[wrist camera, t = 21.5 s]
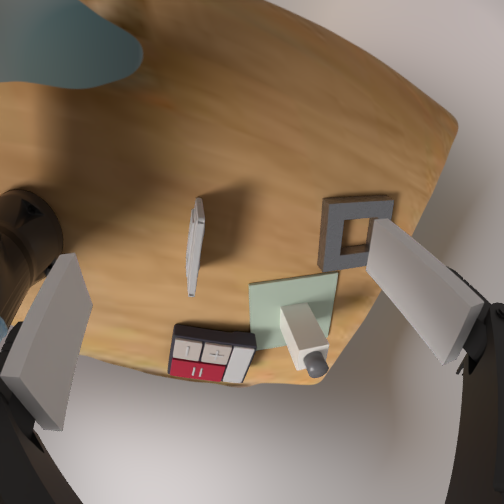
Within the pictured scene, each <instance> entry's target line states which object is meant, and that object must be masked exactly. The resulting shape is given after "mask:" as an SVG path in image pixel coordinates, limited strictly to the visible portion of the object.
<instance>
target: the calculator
mask: <svg viewBox="0 0 504 504" xmlns="http://www.w3.org/2000/svg"><path fill="white" fill-rule="evenodd" d="M256 350H257V343H256V337H255V334H253V333H246V332H238V331H235V332H232V333H230V332H223V331H216V330H209V329H203V328H196V327H190V326H184V325H178V324H176V325H174V330H173V336H172V343H171V349H170V356H169V363H168V374H170V375H173V376H179V377H186V378H193V379H201V380H209V381H217V382H220V381H224V382H233V383H242V382H243V381H244V378H245V376H246V374H247V371H248V369H249V367H250V364H251V362H252V359H253V357H254V354H255V352H256Z"/></svg>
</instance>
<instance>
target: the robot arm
mask: <svg viewBox="0 0 504 504" xmlns="http://www.w3.org/2000/svg"><path fill="white" fill-rule="evenodd" d="M62 248H63V236H62V231H61V227H60V224H59V221H58V219H57V217H56V215H55V214H54V212H53V211H52V209H51V208H50V207H49V205H48V204H47V203H46V202H45V201H44V200H42V199H41V198H40V197H38V196H37V195H35V194H33V193H31V192H28V191H25V190H11V191H8V192H6V193H4V194H2V195H1V196H0V342H1V341H2V339H3V338H4V337H5V336H6V334H7V332H8V329H9V327H10V325H11V323H12V321H13V319H14V317H15V315H16V313H17V311H18V309H19V307H20V305H21V303H22V301H23V299H24V297H25V295H26V294H27V292H28V290H29V288H30V287H31V286H33V285H34V284H36V283H37V282H39V281H41V280H42V279H44V278H45V277H47V278H46V279H45V281H44V283H43V285H42V287H41V288H40V290H39V292H38V294H37V296H36V298H35V300H34V302H33V303H32V305H31V307H30V309H29V311H28V313H27V315H26V317H25V319H24V321H23V322H18V323H17V324H16V325H15V326H14V327H13V329H12V330H11V331H10V333H9V334H8V336H7V338H6V341H5V344H4V345H3V347H2V349H1V352H0V504H83V503H82V502H81V500H80V499H79V498H78V496H77V495H76V493H75V492H74V491H73V490H72V488H71V486H70V485H69V484H68V482H67V481H66V479H65V478H64V476H63V475H62V473H61V472H60V470H59V469H58V467H57V466H56V464H55V463H54V461H53V460H52V458H51V456H50V455H49V453H48V451H47V450H46V448H45V446H44V444H43V443H42V441H41V439H40V437H39V436H38V434H37V433H36V432H35V431H34V429H33V427H34V423H35V421H36V422H37V423H38V424H39V425H40V426H41V427H42V428H43V429H44V430H54V431H63V425H64V420H65V414H66V408H67V404H68V399H69V393H70V389H71V385H72V380H73V376H74V372H75V368H76V363H77V359H78V355H79V352H80V348H81V344H82V340H83V337H84V333H85V330H86V326H87V323H88V320H89V316H90V313H91V310H92V306H93V304H92V301H91V299H90V296H89V293H88V290H87V288H86V285H85V282H84V279H83V276H82V273H81V270H80V267H79V263H78V260H77V257H76V254H75V253H69V254H62V255H61V253H62ZM366 271H367V272H368V274H369V275H370V276H371V277H372V278H373V279H374V281H375V282H376V283H377V284H378V285H379V286H380V288H381V289H382V290H383V291H384V292H385V293H386V295H387V296H388V297H389V298H390V299H391V301H392V302H393V303H394V304H395V306H396V307H397V308H398V309H399V310H400V312H401V313H402V314H403V315H404V317H405V318H406V319H407V320H408V321H409V323H410V324H411V325H412V326H413V328H414V329H415V330H416V331H417V333H418V334H419V335H420V337H421V338H422V339H423V340H424V342H425V343H426V344H427V346H428V347H429V348H430V349H431V351H432V352H433V353H434V355H435V356H436V357H437V359H438V360H439V361H440V363H441V364H442V365H444V364H447V363H449V362H452V361H454V360H456V359H457V357H458V356H459V354H460V352H461V350H462V348H464V349H465V351H466V352H467V354H466V356H465V357H464V359H463V361H462V363H461V364H460V366H459V368H458V370H457V372H456V374H459V373H460V371H461V369H462V368H464V370H463V374H462V375H463V392H462V405H461V416H460V425H459V434H458V441H457V447H456V454H455V459H454V466H453V470H452V475H451V480H450V485H449V489H448V493H447V497H446V501H445V504H504V304H502V303H493V304H492V305H491V304H490V303H489V302H488V301H487V300H486V299H485V298H484V297H483V296H482V295H481V294H480V293H479V292H478V291H477V290H476V289H474V288H473V287H472V286H471V285H469V283H468V282H467V281H466V280H463V277H461V276H460V275H459V274H458V273H457V272H456V271H454V270H453V269H451V268H449V267H447V266H445V265H444V264H443V263H441V262H440V261H439V260H438V259H437V258H436V257H435V256H433V255H432V254H431V253H430V252H429V251H428V250H426V249H425V248H424V247H423V246H422V245H420V244H419V243H418V242H417V241H415V240H414V239H413V238H412V237H411V236H409V235H408V234H407V233H406V232H404V231H403V230H402V229H401V228H399V227H398V226H397V225H396V224H394V223H393V222H392V221H390V220H389V219H388V218H386V219H375V220H374V226H373V232H372V238H371V244H370V250H369V256H368V261H367V267H366Z"/></svg>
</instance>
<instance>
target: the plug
mask: <svg viewBox="0 0 504 504" xmlns="http://www.w3.org/2000/svg"><path fill="white" fill-rule="evenodd" d="M280 329H281V332H282V334H283V337H284V339H285V342H286V344H287V347H288V349H289V352H290V355H291V357H292V360H293V362H294V365H295V367H296V370H302V369H307V371H308V373H309V376H310V377H312V378H318V377H321V376H323V375H324V374H326V373H327V371H328V369H329V367H328V365H327V363H326V358H327V353H328V348H329V343H328V341H327V339H326V337H325V335H324V333H323V331H322V329H321V328H320V326H319V324H318V322H317V320H316V318H315V316H314V314H313V313H312V311H311V309H310V307H309V305H308V303H307V302H306V303H300V304H294V305H288V306H281V308H280Z"/></svg>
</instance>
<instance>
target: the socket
mask: <svg viewBox="0 0 504 504" xmlns="http://www.w3.org/2000/svg"><path fill="white" fill-rule="evenodd" d="M393 205H394V200H393V199H392V198H390V197H389V196H387V195H373V196H354V197H336V198H323V202H322V216H321V229H320V241H319V252H318V263H317V265H318V266H319V268H320V269H321V271H322V272H328V271H335V270H342V269H348V268H355V267H361V266H367V261H368V256H369V250H370V244H371V238H372V232H373V226H374V220H375V219H386V218H388V219H389V220H390V221H391V217H392V211H393ZM360 218H370V220H369V227H368V233H367V240H366V244H365V245H357V246H349V247H341V242H342V234H343V225H344V220H348V219H360Z"/></svg>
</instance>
